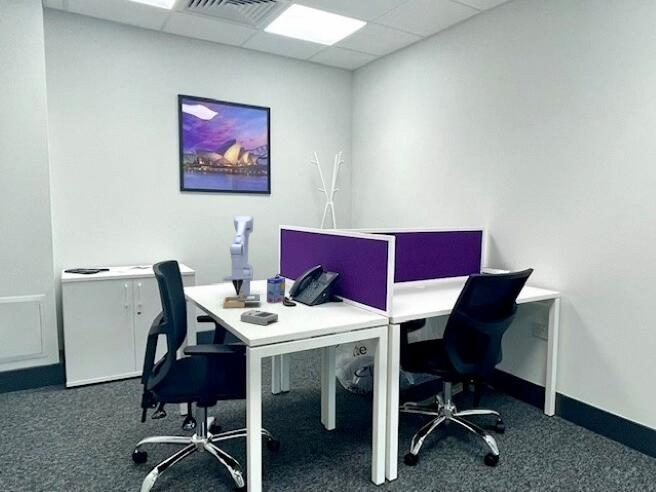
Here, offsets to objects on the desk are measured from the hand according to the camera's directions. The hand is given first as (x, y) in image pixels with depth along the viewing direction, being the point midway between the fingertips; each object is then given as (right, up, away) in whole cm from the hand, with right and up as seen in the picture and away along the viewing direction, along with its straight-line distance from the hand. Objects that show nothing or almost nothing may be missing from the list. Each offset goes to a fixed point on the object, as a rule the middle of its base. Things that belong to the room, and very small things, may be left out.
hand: (237, 294), depth 221 cm
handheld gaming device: (+15, -9, -29) cm, 33 cm away
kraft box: (-2, -5, 0) cm, 5 cm away
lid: (+6, -2, +1) cm, 6 cm away
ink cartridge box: (+18, -5, +11) cm, 21 cm away
